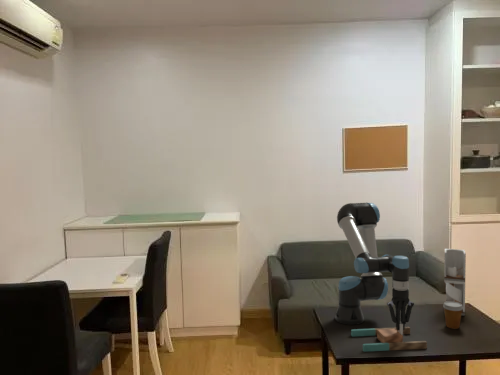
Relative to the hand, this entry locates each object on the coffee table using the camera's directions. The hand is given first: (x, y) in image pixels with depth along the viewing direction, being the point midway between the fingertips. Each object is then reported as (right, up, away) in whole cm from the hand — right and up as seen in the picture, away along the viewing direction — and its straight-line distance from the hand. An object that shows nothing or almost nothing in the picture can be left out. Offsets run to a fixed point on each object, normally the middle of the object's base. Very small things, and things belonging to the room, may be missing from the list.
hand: (400, 336), depth 214 cm
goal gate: (-15, -3, -1) cm, 16 cm away
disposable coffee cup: (+33, -1, +17) cm, 38 cm away
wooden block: (-5, -3, 0) cm, 6 cm away
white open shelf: (+45, +1, +40) cm, 60 cm away
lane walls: (0, -2, 0) cm, 2 cm away
